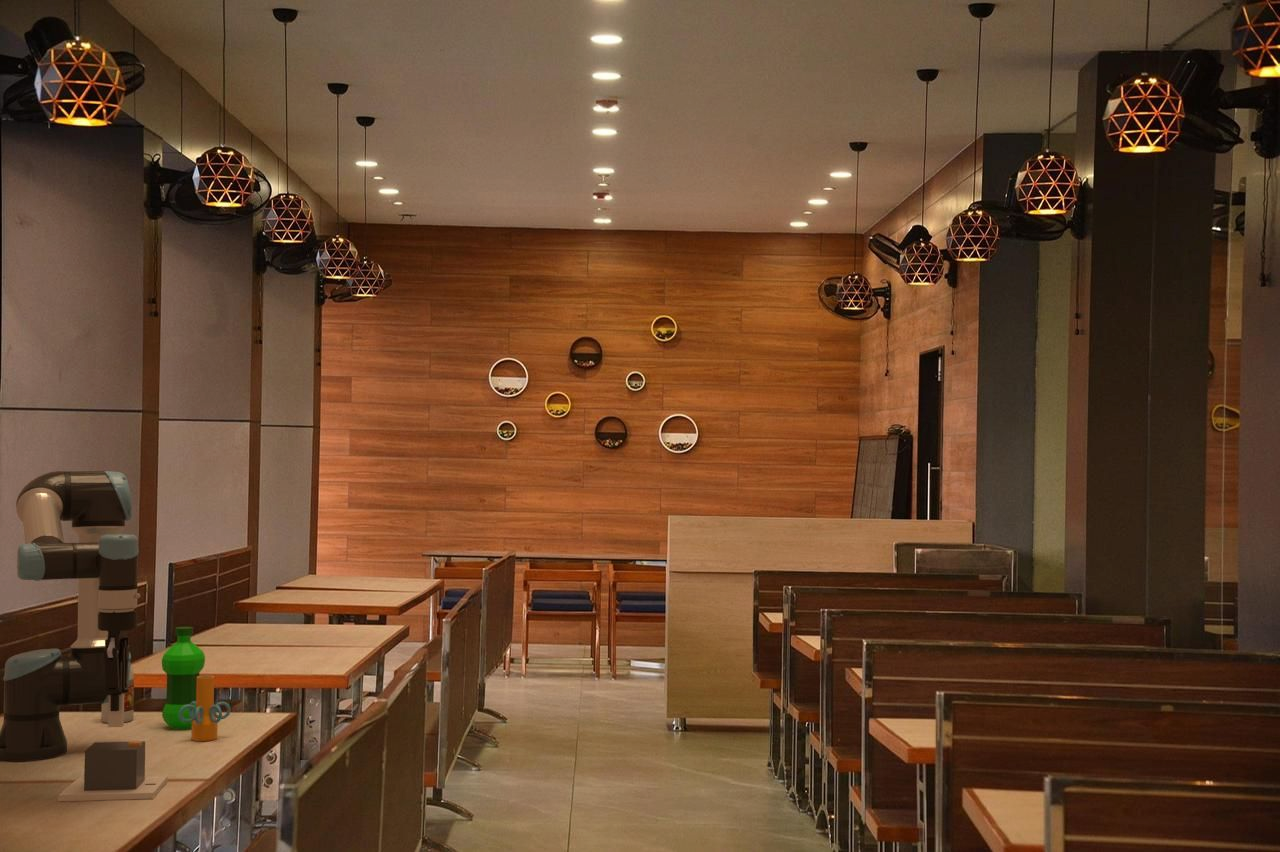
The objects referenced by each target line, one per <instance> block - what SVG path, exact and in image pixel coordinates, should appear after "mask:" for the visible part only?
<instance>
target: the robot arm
mask: <svg viewBox="0 0 1280 852" xmlns="http://www.w3.org/2000/svg"><path fill="white" fill-rule="evenodd" d="M15 502H16V503H15V504H16V505H15V507H16V513H17V516H18V518H19V520H20V521H21V522H22V526H23V532H24V533H23V534H24V542H25V543H22V544H20V545H19V546H18V547H17V552H16V553H17V557H16V560H17V561H16V565H17V566H16V568H17V569H16V570H17V577H18V578H19V579H20V580H21V581H22V580H23V581H36V582H39V581H48V580H49V581H50V580H51V581H53V580H74V579H75V580H78V581H77V583H78V584H77V587H78V589H77V590H78V591H77V638H76V640H75V641H74V642H73V643H72V644H71V645H70V652H69V653H70V654H62V652H61V650H60V649H59V648H43V649H36V650H30V651H27V652H22V653H19V654H15V655H13V656H11V657H9V658H8V659H7V660H6V661H5V664H4V676H3V677H2V678H3V679H2V680H3V681H4V693H3V722H2V725H1V728H0V760H1V761H4V762H5V761H6V762H28V761H29V762H30V761H38V760H46V759H52V758H55V757H59V756H62V755H64V754H66V753H67V752H68V741H67V738H66V734H65V731H64V729H63V726H62V723H61V719H60V707H65V706H77V705H78V706H79V705H80V706H81V705H95V704H101V705H102V704H104V703H108V702H109V703H108V723H107V727H108V728H122V727H124V726H125V722H124V695H125V693H128V691H129V689H127V686H128V681H129V675H130V667H132V665H131V660H132V655H131V652H130V649H131V644H132V642H131V640H130V637H128V632H127V631H132V630H135V629H137V627H138V612H137V610H135V609H136V608H137V607H138V599H140V598H141V593H138V572H139V571H138V570H139V569H138V568H139V553H140V549H139V538H138V537H137V536H136V535H135V534H128V533H126V534H125V533H121V532H122V531H124V529H125V527H126V522H128V521H129V520H132V514H133V511H132V507H133V505H132V496H131V491H130V486H129V480H128V478H127V476H126V475H125V474H124V473H123V472H121V471H112V470H111V471H110V470H109V471H108V470H87V471H86V470H84V471H83V470H81V471H77V470H75V471H74V470H73V471H72V470H71V471H70V470H69V471H68V470H65V471H63V470H56V471H51V472H47V473H44V474H42V475H39V476H37V477H36V478H34V479H32V480H31V481H29V482H28V483H27V484H26V485H24V487H23V488H22V489H21V490H20V492H19V494H18V496H17V499H16V501H15ZM62 522H71V529H72V531H73V532H74V533H75V534H76V535H77V536H78V542H65V538H64V534H63V528H62Z"/></svg>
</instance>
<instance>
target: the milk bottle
mask: <svg viewBox="0 0 1280 852" xmlns="http://www.w3.org/2000/svg"><path fill="white" fill-rule="evenodd" d="M134 675H135V674H134V670H133V667H132V666H131V667H130V675H129V681H128V686H127V689H129V691H128V693H125V695H124V723H127V722H132V721H133V720H134V714H135V713H134V707H135V705H134V704H135V701H134V700H135V676H134ZM108 703H109V702H108ZM108 703H104V704H101V711H100V712H101V714H100V715H101V717H100V718H101V722H103V723H104V724H108Z"/></svg>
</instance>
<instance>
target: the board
mask: <svg viewBox="0 0 1280 852" xmlns="http://www.w3.org/2000/svg"><path fill="white" fill-rule="evenodd" d="M168 781H169V777H168V775H165V776H164V775H161V776H157V775H156V776H145V780H144V781H143V783H142V784H141V785H140V786H139V787H138V788H137V789H132V790H95V791H84V777H83V778H81V777H80V778H79V777H78V778H77V779H75V780H74V781H73V782H71V784H69V785H68V787H66V788H65V789H63V791H62V792H60V794H59V793H58V795H57V796H58V798H57V799H58V802H83V801H84V802H85V801H86V802H87V801H117V800H118V801H121V800H124V801H125V800H153V799H155V797H157V795H158V794H159V793H160V791H162V789H163V788H164V787H165V786H166V785H167V784H168Z"/></svg>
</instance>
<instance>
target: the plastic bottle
mask: <svg viewBox="0 0 1280 852" xmlns="http://www.w3.org/2000/svg"><path fill="white" fill-rule="evenodd" d="M174 629H175V631H174V633H175V634H174V635H175V636H177V639H176V642H175V643H173V644H172V645H171V646H170V647H169V648H168V649H167V650H166V651H165V652H164V654H163V656H162V658H161V668H162V671H164V673H165V674H166V703H165V705H164V706H163V709H162V712H161V713H162V716H161V717H162V719H163V721H164V723H165V724H166V725H168V726H169V727H171V729H172V730H188V729H192V721H191V722H183V721H182V720H181V719H180V718H179V711H180V709H181V708H182V707H183V706H185V705H190V703H191V702H193V701H196V688H197V677H198V676H200V673H201V672H202V670H203V669H204V667H205V661H206V655H205V653H204V650H202V649H201V648H200V647H199V646H198V645H197V644H196V643H194V642H193V641H191V637H192V635H194V627H193V626H177V627H175V628H174ZM193 706H194V707H195V708H196V705H195V704H194V705H193ZM192 713H193V714H194V711H193V710H192ZM182 716H183V718H185V719H190V718H192V717H191V716H190V715H189V711H188V708H186V709H184V710H183V712H182Z"/></svg>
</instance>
